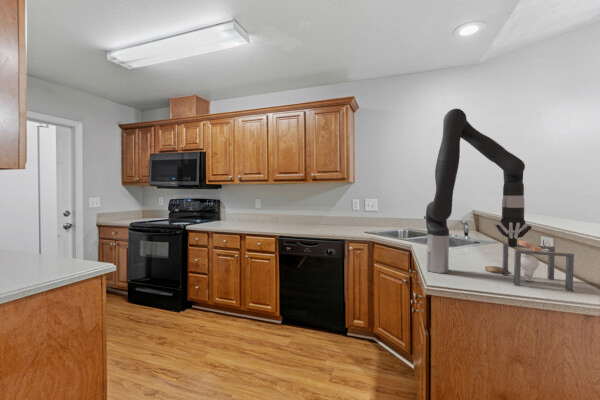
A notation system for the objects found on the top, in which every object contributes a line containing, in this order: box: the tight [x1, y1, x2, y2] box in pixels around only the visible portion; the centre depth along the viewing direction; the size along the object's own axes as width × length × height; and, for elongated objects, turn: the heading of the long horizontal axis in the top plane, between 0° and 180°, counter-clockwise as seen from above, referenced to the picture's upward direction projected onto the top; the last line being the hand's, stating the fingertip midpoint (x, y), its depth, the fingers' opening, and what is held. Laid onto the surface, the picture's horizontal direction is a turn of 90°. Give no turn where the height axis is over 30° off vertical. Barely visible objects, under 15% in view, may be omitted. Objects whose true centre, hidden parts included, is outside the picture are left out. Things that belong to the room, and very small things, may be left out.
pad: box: [484, 265, 503, 275], centre depth 132 cm, size 9×9×1 cm
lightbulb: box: [521, 254, 540, 282], centre depth 117 cm, size 6×6×11 cm
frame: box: [501, 243, 575, 292], centre depth 116 cm, size 18×16×14 cm
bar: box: [518, 240, 542, 252], centre depth 116 cm, size 2×16×2 cm, turn 159°
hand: (512, 246), depth 118 cm, fingers closed
